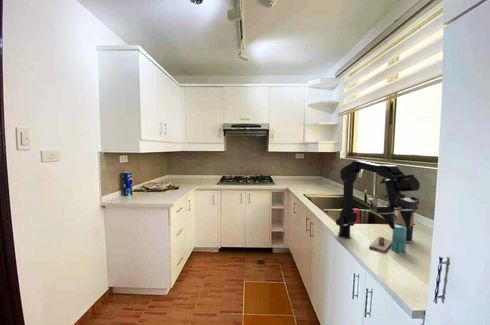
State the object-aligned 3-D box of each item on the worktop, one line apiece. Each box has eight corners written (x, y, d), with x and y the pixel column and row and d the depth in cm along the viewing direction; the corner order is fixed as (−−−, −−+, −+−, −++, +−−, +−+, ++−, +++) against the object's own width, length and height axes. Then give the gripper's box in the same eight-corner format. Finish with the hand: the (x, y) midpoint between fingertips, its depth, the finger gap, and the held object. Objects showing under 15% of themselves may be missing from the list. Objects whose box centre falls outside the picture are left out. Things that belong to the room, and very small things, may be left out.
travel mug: (409, 236, 132) (411, 202, 131) (414, 242, 125) (417, 206, 123) (393, 235, 134) (395, 201, 133) (398, 240, 127) (400, 205, 126)
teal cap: (390, 246, 119) (391, 224, 118) (403, 248, 117) (404, 225, 116) (393, 251, 114) (394, 227, 113) (406, 253, 112) (407, 229, 111)
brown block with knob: (369, 248, 117) (369, 239, 117) (378, 239, 129) (378, 231, 129) (385, 252, 113) (385, 244, 112) (392, 242, 124) (393, 235, 124)
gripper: (395, 192, 94) (403, 232, 91) (426, 189, 100) (434, 226, 97) (372, 194, 104) (379, 230, 101) (402, 191, 110) (409, 225, 108)
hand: (400, 228), depth 102 cm, fingers open, 9 cm apart
